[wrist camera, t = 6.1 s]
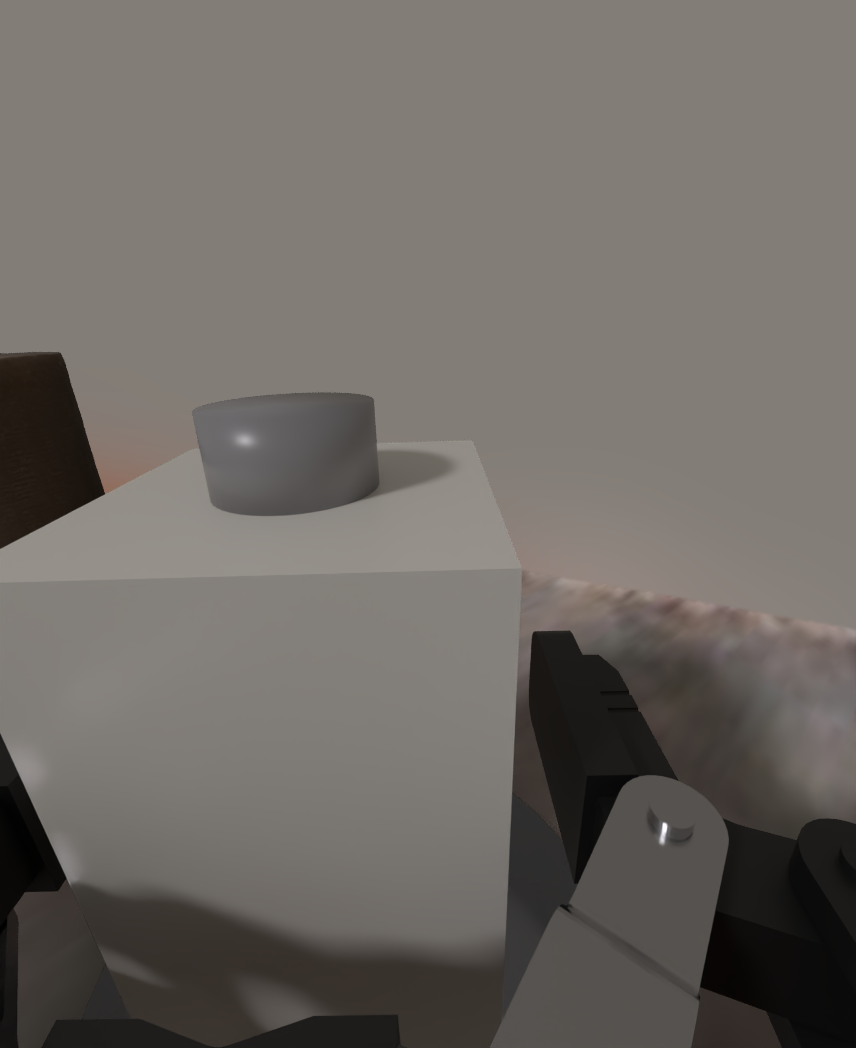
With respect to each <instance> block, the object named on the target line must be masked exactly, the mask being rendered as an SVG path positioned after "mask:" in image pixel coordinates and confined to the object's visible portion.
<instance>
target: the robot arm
mask: <svg viewBox="0 0 856 1048" xmlns="http://www.w3.org/2000/svg"><path fill="white" fill-rule="evenodd" d="M529 707H530V715H531V720H532V725H533V729H534V732H535V736H536V740H537V744H538V748H539V752H540V755H541V759H542V763H543V767H544V771H545V775H546V778H547V782H548V786H549V790H550V794H551V798H552V801H553V805H554V809H555V813H556V817H557V821H558V824H559V828H560V832H561V836H562V840H563V844H564V847H565V851H566V855H567V859H568V863H569V867H570V870H571V874H572V878H573V882H574V884H578V885H577V887H576V890H575V892H574V894H573V896H572V898H571V900H570V902H569V903H568V904H567V905H566V906H565V905H564V904H561V905H560V906H559V907H558V908H557V909H556V911H555V912H554V914H553V916H552V918H551V919H550V921H549V923H548V925H547V927H546V929H545V931H544V934H543V936H542V938H541V940H540V942H539V944H538V946H537V948H536V950H535V953H534V955H533V957H532V959H531V961H530V963H529V965H528V967H527V970H526V972H525V974H524V976H523V978H522V980H521V982H520V984H519V986H518V989H517V991H516V993H515V995H514V997H513V999H512V1001H511V1003H510V1006H509V1008H508V1010H507V1012H506V1014H505V1016H504V1018H503V1020H502V1022H501V1025H500V1027H499V1029H498V1031H497V1033H496V1035H495V1037H494V1039H493V1042H492V1044H491V1046H490V1048H691V1045H692V1040H693V1035H694V1030H695V1025H696V1020H697V1014H698V1008H699V1000H700V996H699V988H700V987H702V988H704V989H707V990H710V991H713V992H715V993H718V994H721V995H723V996H726V997H729V998H732V999H734V1000H737V1001H740V1002H743V1003H745V1004H748V1005H751V1006H754V1007H756V1008H759V1009H762V1010H765V1011H766V1012H767V1014H768V1016H769V1019H770V1021H771V1023H772V1025H773V1028H774V1030H775V1032H776V1034H777V1037H778V1039H779V1041H780V1043H781V1046H782V1048H856V824H853V823H850V822H847V821H842V820H838V819H817V820H813V821H811V822H809V823H807V824H806V825H805V826H804V827H803V828H802V829H801V831H800V834H799V836H798V839H797V840H793V839H790V838H786V837H782V836H778V835H774V834H771V833H767V832H763V831H759V830H755V829H752V828H748V827H744V826H741V825H738V824H735V823H732V822H730V821H728V820H725V819H723V818H722V817H721V815H720V814H719V812H718V811H717V810H716V808H715V807H714V806H713V805H712V804H711V803H710V802H709V801H708V800H707V799H706V798H705V797H704V796H703V795H701V794H700V793H699V792H697V791H696V790H694V789H693V788H691V787H690V786H688V785H686V784H684V783H682V782H679V781H678V779H677V778H676V776H675V774H674V772H673V770H672V769H671V767H670V765H669V763H668V761H667V759H666V758H665V756H664V754H663V752H662V750H661V748H660V747H659V745H658V743H657V741H656V739H655V738H654V736H653V734H652V732H651V730H650V728H649V727H648V725H647V723H646V721H645V719H644V718H643V716H642V714H641V712H639V711H638V707H637V705H636V703H635V701H634V699H633V697H632V696H631V695H629V690H628V688H627V687H626V685H625V683H624V681H623V679H622V677H621V676H620V674H619V672H618V671H617V670H616V669H615V668H614V667H612V666H611V665H610V664H609V663H608V662H607V661H605V660H604V659H603V658H602V657H601V656H599V655H582V653H581V651H580V649H579V647H578V645H577V642H576V640H575V638H574V636H573V634H572V632H571V631H535V632H533V635H532V644H531V661H530V679H529ZM65 880H66V876H65V873H64V871H63V869H62V867H61V865H60V863H59V860H58V858H57V856H56V854H55V852H54V849H53V847H52V845H51V843H50V841H49V839H48V836H47V834H46V832H45V830H44V828H43V825H42V823H41V821H40V819H39V817H38V815H37V812H36V810H35V808H34V806H33V804H32V801H31V799H30V797H29V795H28V793H27V791H26V788H25V786H24V784H23V782H22V780H21V777H20V775H19V773H18V771H17V769H16V767H15V764H14V762H13V760H12V758H11V756H10V753H9V751H8V749H7V747H6V745H5V742H4V740H3V738H2V736H1V734H0V1048H18V1041H17V989H18V927H19V923H18V917H17V914H16V912H15V910H14V909H13V908H14V907H15V905H16V904H17V902H18V901H19V900H20V898H21V897H22V895H23V894H24V893H25V892H44V891H58V890H59V889H60V887H61V886H62V884H63V883H64V881H65ZM42 1048H407V1047H404V1046H402V1045H401V1043H400V1033H399V1022H398V1015H339V1016H312V1017H309V1018H306V1019H303V1020H300V1021H297V1022H294V1023H291V1024H288V1025H286V1026H283V1027H280V1028H277V1029H274V1030H271V1031H268V1032H265V1033H262V1034H259V1035H257V1036H254V1037H251V1038H248V1039H245V1040H242V1041H239V1042H236V1043H233V1044H230V1045H228V1046H223V1047H212V1046H208V1045H205V1044H203V1043H200V1042H198V1041H195V1040H193V1039H190V1038H188V1037H185V1036H182V1035H180V1034H177V1033H175V1032H172V1031H170V1030H167V1029H165V1028H162V1027H160V1026H157V1025H155V1024H152V1023H149V1022H147V1021H144V1020H142V1019H90V1020H56V1022H55V1024H54V1026H53V1027H52V1029H51V1031H50V1033H49V1035H48V1037H47V1039H46V1040H45V1042H44V1044H43V1046H42Z"/></svg>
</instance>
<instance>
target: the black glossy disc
mask: <svg viewBox="0 0 856 1048" xmlns="http://www.w3.org/2000/svg"><path fill="white" fill-rule="evenodd" d="M577 885H578V884H574V882H573V878H572V874H571V870H570V867H569V863H568V859H567V855H566V851H565V847H564V844H563V842H562V841H561V839H560V838H559V837H558V836H557V834H556V833H555V832H554V831H553V829H552V828H551V827H550V826H549V825H548V824H547V823H546V822H545V821H544V820H543V819H542V818H541V817H540V816H539V815H538V814H537V813H536V812H535V811H534V810H533V809H532V808H530V807H529V806H528V805H527V804H526V803H524V802H523V801H522V800H521V799H520V798H518V797H517V796H516V795H515V794H513V793H512V805H511V827H510V849H509V871H508V894H507V916H506V938H505V961H504V983H503V1005H502V1020H503V1018H504V1016H505V1014H506V1012H507V1010H508V1008H509V1006H510V1003H511V1001H512V999H513V997H514V995H515V993H516V991H517V989H518V986H519V984H520V982H521V980H522V978H523V976H524V974H525V972H526V970H527V967H528V965H529V963H530V961H531V959H532V957H533V955H534V953H535V950H536V948H537V946H538V944H539V942H540V940H541V938H542V936H543V934H544V931H545V929H546V927H547V925H548V923H549V921H550V919H551V918H552V916H553V914H554V912H555V911H556V909H557V908H558V907H559V906H560V905H561V904H564V905H565V906H566V905H567V904H568V903H569V902H570V900H571V898H572V896H573V894H574V892H575V890H576V887H577ZM90 1019H131V1018H130V1015H129V1013H128V1011H127V1009H126V1007H125V1004H124V1002H123V1000H122V998H121V996H120V994H119V991H118V989H117V987H116V985H115V983H114V980H113V978H112V976H111V974H110V972H109V970H108V967H107V965H106V964H105V966H104V968H103V971H102V973H101V975H100V977H99V979H98V982H97V984H96V986H95V988H94V990H93V993H92V995H91V997H90V999H89V1002H88V1004H87V1006H86V1009H85V1012H84V1015H83V1018H82V1020H90Z"/></svg>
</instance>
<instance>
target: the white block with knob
mask: <svg viewBox="0 0 856 1048" xmlns="http://www.w3.org/2000/svg"><path fill="white" fill-rule="evenodd" d="M192 415H193V420H194V424H195V429H196V434H197V439H198V444H199V449H191V450H189V451H188V452H185V453H184V454H182V455H180V456H178V457H176V458H174V459H172V460H170V461H168V462H166V463H165V464H163V465H161V466H159V467H157V468H155V469H153V470H151V471H149V472H147V473H145V474H143V475H141V476H139V477H137V478H136V479H134V480H132V481H130V482H128V483H126V484H124V485H122V486H120V487H118V488H116V489H114V490H113V491H111V492H109V493H107V494H105V495H103V496H101V497H99V498H97V499H95V500H93V501H91V502H90V503H88V504H86V505H84V506H82V507H80V508H78V509H76V510H74V511H72V512H70V513H68V514H67V515H65V516H63V517H61V518H59V519H57V520H55V521H53V522H51V523H49V524H47V525H45V526H44V527H42V528H40V529H38V530H36V531H34V532H32V533H30V534H28V535H26V536H24V537H22V538H21V539H19V540H17V541H15V542H13V543H11V544H9V545H7V546H5V547H3V548H1V549H0V734H1V736H2V738H3V740H4V742H5V745H6V747H7V749H8V751H9V753H10V756H11V758H12V760H13V762H14V764H15V767H16V769H17V771H18V773H19V775H20V777H21V780H22V782H23V784H24V786H25V788H26V791H27V793H28V795H29V797H30V799H31V801H32V804H33V806H34V808H35V810H36V812H37V815H38V817H39V819H40V821H41V823H42V825H43V828H44V830H45V832H46V834H47V836H48V839H49V841H50V843H51V845H52V847H53V849H54V852H55V854H56V856H57V858H58V860H59V863H60V865H61V867H62V869H63V871H64V873H65V876H66V878H67V880H68V882H69V884H70V887H71V889H72V891H73V893H74V895H75V898H76V900H77V902H78V904H79V906H80V908H81V911H82V913H83V915H84V917H85V919H86V922H87V924H88V926H89V928H90V930H91V932H92V935H93V937H94V939H95V941H96V943H97V946H98V948H99V950H100V952H101V954H102V956H103V959H104V961H105V963H106V965H107V967H108V970H109V972H110V974H111V976H112V978H113V980H114V983H115V985H116V987H117V989H118V991H119V994H120V996H121V998H122V1000H123V1002H124V1004H125V1007H126V1009H127V1011H128V1013H129V1015H130V1018H131V1019H142V1020H144V1021H147V1022H149V1023H152V1024H155V1025H157V1026H160V1027H162V1028H165V1029H167V1030H170V1031H172V1032H175V1033H177V1034H180V1035H182V1036H185V1037H188V1038H190V1039H193V1040H195V1041H198V1042H200V1043H203V1044H205V1045H208V1046H212V1047H223V1046H228V1045H230V1044H233V1043H236V1042H239V1041H242V1040H245V1039H248V1038H251V1037H254V1036H257V1035H259V1034H262V1033H265V1032H268V1031H271V1030H274V1029H277V1028H280V1027H283V1026H286V1025H288V1024H291V1023H294V1022H297V1021H300V1020H303V1019H306V1018H309V1017H312V1016H339V1015H398V1022H399V1033H400V1043H401V1045H402V1046H404V1047H407V1048H490V1046H491V1044H492V1042H493V1039H494V1037H495V1035H496V1033H497V1031H498V1029H499V1027H500V1025H501V1022H502V1005H503V983H504V961H505V938H506V916H507V894H508V871H509V849H510V827H511V805H512V782H513V760H514V738H515V715H516V693H517V671H518V648H519V626H520V604H521V581H522V567H521V564H520V562H519V559H518V557H517V554H516V551H515V549H514V546H513V544H512V541H511V539H510V536H509V533H508V531H507V528H506V526H505V523H504V520H503V518H502V516H501V513H500V510H499V508H498V505H497V502H496V500H495V497H494V495H493V492H492V490H491V487H490V484H489V482H488V479H487V477H486V474H485V472H484V469H483V466H482V464H481V461H480V459H479V456H478V454H477V451H476V449H475V446H474V443H473V441H472V440H465V441H464V440H463V441H431V442H399V443H377V440H376V425H375V413H374V399H373V398H372V397H369V396H365V395H360V394H351V393H292V394H277V395H266V396H255V397H246V398H239V399H232V400H226V401H220V402H215V403H211V404H207V405H203V406H200V407H198V408H196V409H194V410H193V411H192Z"/></svg>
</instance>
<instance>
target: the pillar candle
mask: <svg viewBox="0 0 856 1048" xmlns="http://www.w3.org/2000/svg"><path fill="white" fill-rule="evenodd" d="M103 495H105V492H104V489H103V486H102V483H101V480H100V477H99V474H98V471H97V468H96V465H95V462H94V458H93V454H92V452H91V448H90V445H89V442H88V438H87V435H86V432H85V428H84V425H83V420H82V417H81V414H80V411H79V408H78V404H77V401H76V398H75V395H74V392H73V389H72V386H71V383H70V378H69V374H68V371H67V368H66V364H65V362H64V359H63V357H62V355H61V353H59V352H28V353H9V354H2V353H0V549H1V548H3V547H5V546H7V545H9V544H11V543H13V542H15V541H17V540H19V539H21V538H22V537H24V536H26V535H28V534H30V533H32V532H34V531H36V530H38V529H40V528H42V527H44V526H45V525H47V524H49V523H51V522H53V521H55V520H57V519H59V518H61V517H63V516H65V515H67V514H68V513H70V512H72V511H74V510H76V509H78V508H80V507H82V506H84V505H86V504H88V503H90V502H91V501H93V500H95V499H97V498H99V497H101V496H103Z"/></svg>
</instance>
